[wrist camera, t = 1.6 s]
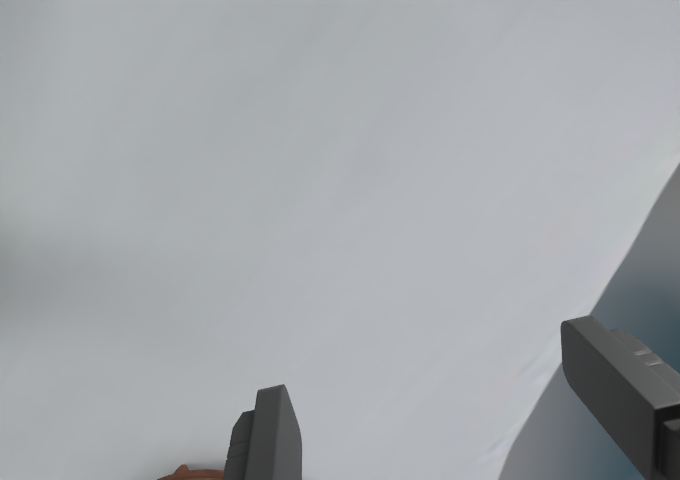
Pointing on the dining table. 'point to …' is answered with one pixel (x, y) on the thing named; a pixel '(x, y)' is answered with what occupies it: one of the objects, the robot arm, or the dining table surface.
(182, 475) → the scroll
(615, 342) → the robot arm
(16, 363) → the dining table surface
